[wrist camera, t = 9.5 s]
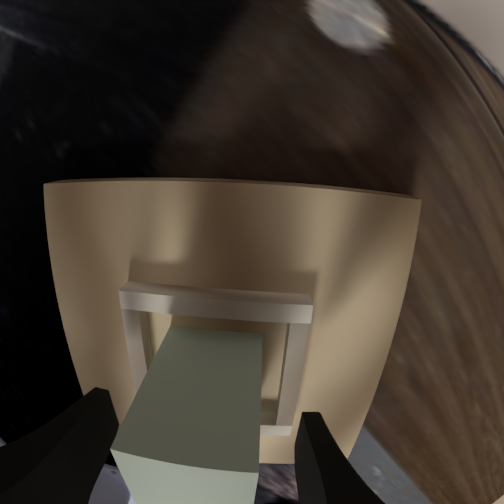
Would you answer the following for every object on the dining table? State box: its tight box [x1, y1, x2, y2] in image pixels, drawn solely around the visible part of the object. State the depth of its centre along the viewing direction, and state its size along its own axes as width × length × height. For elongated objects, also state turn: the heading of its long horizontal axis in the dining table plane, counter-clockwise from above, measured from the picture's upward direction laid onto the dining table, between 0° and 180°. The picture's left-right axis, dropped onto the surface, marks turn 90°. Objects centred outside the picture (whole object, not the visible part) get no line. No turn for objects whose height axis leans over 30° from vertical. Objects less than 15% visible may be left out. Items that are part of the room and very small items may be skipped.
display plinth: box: [44, 178, 422, 464], centre depth 14 cm, size 16×16×2 cm
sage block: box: [110, 326, 263, 504], centre depth 11 cm, size 4×4×7 cm
